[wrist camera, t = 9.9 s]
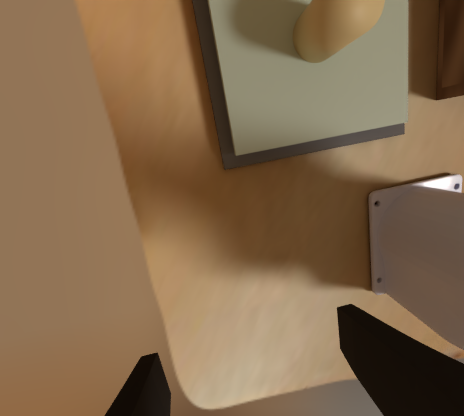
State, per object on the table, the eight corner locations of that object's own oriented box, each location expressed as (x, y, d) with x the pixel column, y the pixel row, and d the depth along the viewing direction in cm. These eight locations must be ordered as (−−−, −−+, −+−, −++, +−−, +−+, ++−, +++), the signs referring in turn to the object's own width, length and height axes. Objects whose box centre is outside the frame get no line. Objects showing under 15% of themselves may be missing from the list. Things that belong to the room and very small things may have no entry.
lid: (394, 123, 19) (466, 115, 14) (233, 155, 18) (247, 158, 13) (392, -84, 15) (486, -195, 10) (195, -60, 14) (193, -168, 9)
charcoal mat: (400, 134, 19) (404, 134, 19) (224, 169, 18) (224, 169, 18) (399, -94, 16) (404, -100, 15) (179, -67, 15) (178, -73, 14)
